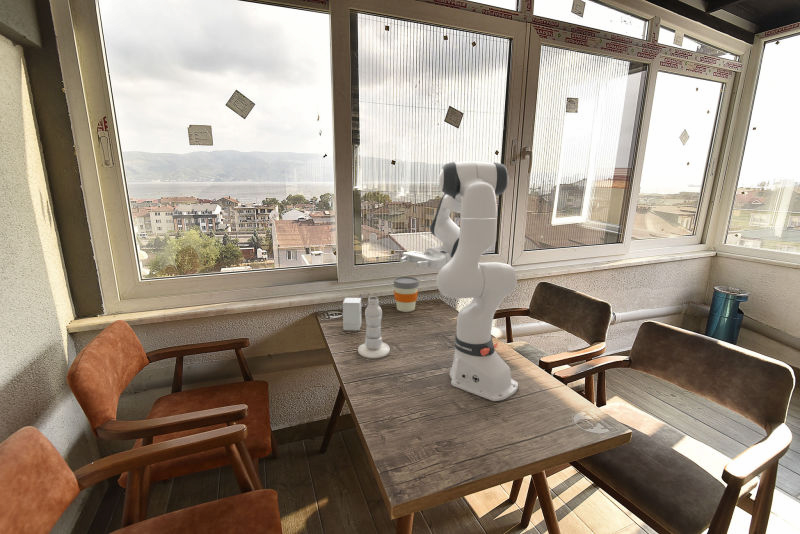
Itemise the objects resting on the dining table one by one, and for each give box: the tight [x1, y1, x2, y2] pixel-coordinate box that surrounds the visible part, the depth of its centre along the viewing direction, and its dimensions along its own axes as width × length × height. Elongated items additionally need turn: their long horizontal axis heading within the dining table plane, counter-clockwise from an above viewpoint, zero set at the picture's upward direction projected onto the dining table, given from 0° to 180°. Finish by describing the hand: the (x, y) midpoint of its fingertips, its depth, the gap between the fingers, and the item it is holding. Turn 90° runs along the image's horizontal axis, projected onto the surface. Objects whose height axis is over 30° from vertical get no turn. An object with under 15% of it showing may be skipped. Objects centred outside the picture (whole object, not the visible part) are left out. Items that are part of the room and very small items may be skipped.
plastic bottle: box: [364, 296, 383, 350], centre depth 140 cm, size 6×7×20 cm
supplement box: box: [342, 297, 362, 331], centre depth 163 cm, size 7×7×13 cm
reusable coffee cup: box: [393, 276, 420, 313], centre depth 186 cm, size 13×13×15 cm
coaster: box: [357, 342, 391, 359], centre depth 143 cm, size 12×12×1 cm
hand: (409, 262), depth 147 cm, fingers open, 8 cm apart
